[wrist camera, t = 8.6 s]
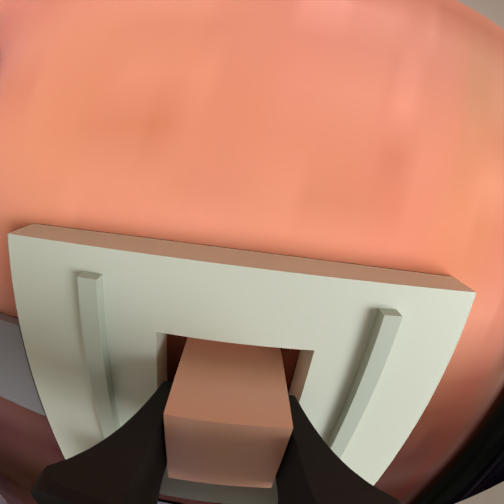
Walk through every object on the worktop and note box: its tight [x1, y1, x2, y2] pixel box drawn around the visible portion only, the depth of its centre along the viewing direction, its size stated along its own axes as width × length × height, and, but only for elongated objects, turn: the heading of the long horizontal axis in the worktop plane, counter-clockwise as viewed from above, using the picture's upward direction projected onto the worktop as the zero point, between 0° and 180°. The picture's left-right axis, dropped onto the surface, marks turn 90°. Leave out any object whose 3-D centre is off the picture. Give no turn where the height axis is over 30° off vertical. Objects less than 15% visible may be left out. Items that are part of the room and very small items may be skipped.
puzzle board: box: [8, 224, 476, 504], centre depth 13 cm, size 16×20×3 cm
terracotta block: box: [164, 337, 293, 488], centre depth 11 cm, size 4×4×5 cm
